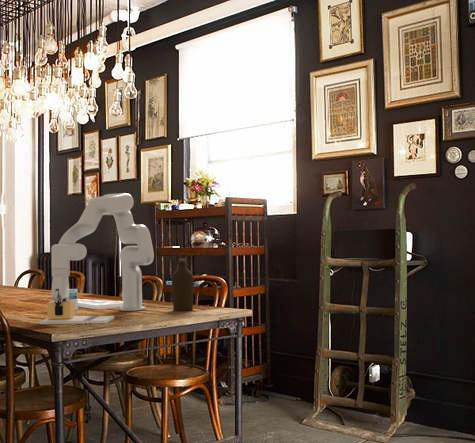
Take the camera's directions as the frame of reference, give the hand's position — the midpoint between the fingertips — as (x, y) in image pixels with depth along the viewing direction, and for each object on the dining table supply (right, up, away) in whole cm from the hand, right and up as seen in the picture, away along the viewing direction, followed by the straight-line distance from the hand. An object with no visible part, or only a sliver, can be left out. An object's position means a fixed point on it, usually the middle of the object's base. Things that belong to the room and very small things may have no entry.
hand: (61, 313), depth 277 cm
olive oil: (+50, -3, +35) cm, 61 cm away
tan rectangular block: (0, -2, 0) cm, 2 cm away
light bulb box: (-10, -5, +43) cm, 45 cm away
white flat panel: (+7, -3, -1) cm, 8 cm away
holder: (-2, -6, +68) cm, 68 cm away
